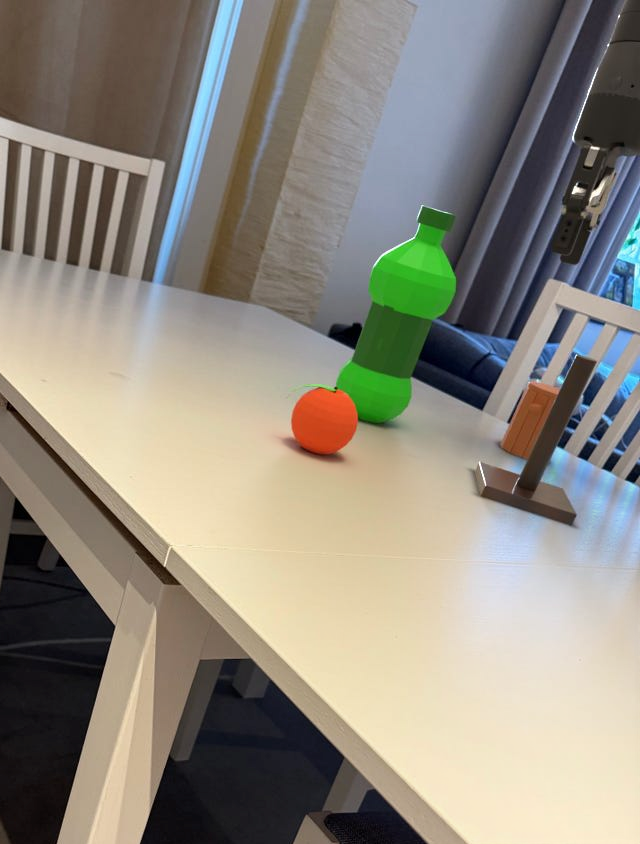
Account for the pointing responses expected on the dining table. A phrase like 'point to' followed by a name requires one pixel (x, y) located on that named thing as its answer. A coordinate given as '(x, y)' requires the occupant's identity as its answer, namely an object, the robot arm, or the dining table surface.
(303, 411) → the clementine
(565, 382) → the stand
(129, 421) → the dining table surface
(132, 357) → the dining table surface
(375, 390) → the plastic bottle
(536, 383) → the orange letterbox
